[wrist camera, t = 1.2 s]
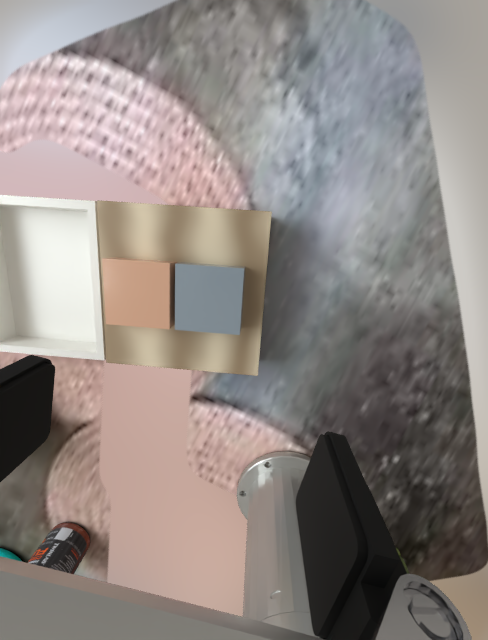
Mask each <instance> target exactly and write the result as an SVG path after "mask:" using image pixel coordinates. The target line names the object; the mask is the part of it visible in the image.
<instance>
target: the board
mask: <svg viewBox="0 0 488 640" xmlns="http://www.w3.org/2000/svg"><path fill="white" fill-rule="evenodd" d="M97 209H98V226H99V243H100V260H101V277H102V294H103V311H104V328H105V345H106V362H108V363H118V364H129V365H140V366H152V367H164V368H175V369H187V370H198V371H209V372H221V373H232V374H244V375H255V376H258V365H259V354H260V342H261V330H262V319H263V307H264V295H265V284H266V272H267V260H268V249H269V237H270V225H271V214H272V212H269V211H253V210H238V209H222V208H207V207H191V206H175V205H159V204H144V203H128V202H113V201H97ZM114 257H117V258H131V259H145V260H159V261H173V262H177V263H181V262H187V263H201V264H215V265H229V266H243V267H246V268H245V283H244V298H243V313H242V327H241V332H240V335H233V334H220V333H208V332H196V331H184V330H175V325H174V326H173V327H172V328H170V329H159V328H147V327H134V326H122V325H110V324H106V318H105V301H104V283H103V266H102V258H114Z"/></svg>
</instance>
